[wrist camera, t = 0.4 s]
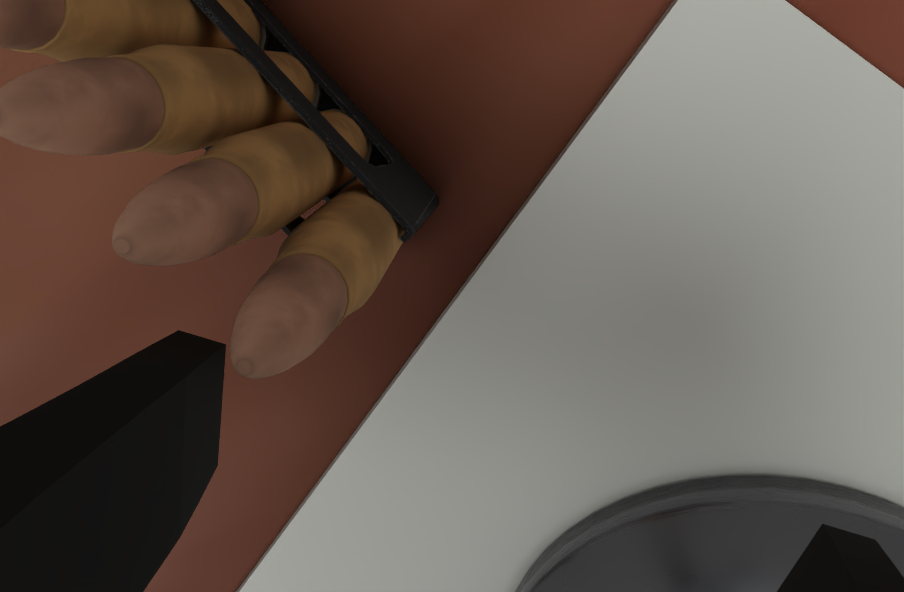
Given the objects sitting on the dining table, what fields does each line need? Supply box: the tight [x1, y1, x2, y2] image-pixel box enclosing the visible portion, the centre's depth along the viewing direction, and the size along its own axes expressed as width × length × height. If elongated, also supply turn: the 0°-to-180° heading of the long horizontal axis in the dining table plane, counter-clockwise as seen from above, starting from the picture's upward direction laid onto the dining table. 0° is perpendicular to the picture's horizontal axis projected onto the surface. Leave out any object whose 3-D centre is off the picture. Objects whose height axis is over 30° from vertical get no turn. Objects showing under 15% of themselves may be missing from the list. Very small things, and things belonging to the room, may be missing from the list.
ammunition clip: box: [0, 0, 439, 379], centre depth 14 cm, size 11×2×12 cm, turn 43°
